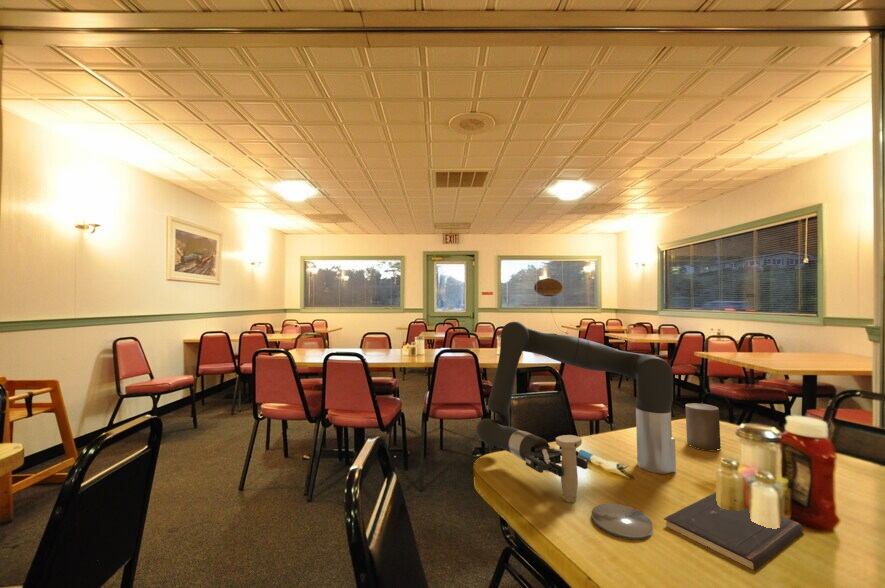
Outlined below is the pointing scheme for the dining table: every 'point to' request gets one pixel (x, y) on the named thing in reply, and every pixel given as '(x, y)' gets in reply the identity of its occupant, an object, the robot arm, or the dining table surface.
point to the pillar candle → (703, 426)
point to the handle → (569, 465)
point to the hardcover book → (732, 531)
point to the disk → (622, 521)
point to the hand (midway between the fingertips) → (575, 468)
